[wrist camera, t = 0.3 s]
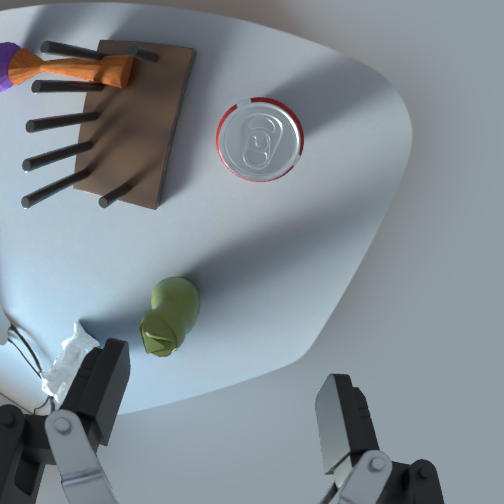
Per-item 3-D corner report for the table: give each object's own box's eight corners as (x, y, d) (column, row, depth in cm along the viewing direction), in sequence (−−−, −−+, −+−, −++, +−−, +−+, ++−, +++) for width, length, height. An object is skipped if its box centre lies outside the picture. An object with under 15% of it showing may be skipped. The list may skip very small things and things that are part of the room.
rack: (105, 41, 24) (38, 23, 13) (196, 51, 24) (156, 21, 14) (78, 185, 30) (13, 221, 20) (159, 206, 31) (112, 254, 21)
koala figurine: (65, 310, 38) (21, 367, 27) (106, 328, 39) (68, 391, 28) (67, 350, 42) (33, 404, 31) (104, 366, 42) (74, 425, 31)
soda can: (296, 108, 26) (315, 106, 16) (284, 162, 29) (295, 195, 18) (239, 98, 26) (220, 89, 15) (229, 152, 28) (205, 178, 18)
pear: (204, 310, 36) (187, 372, 27) (161, 307, 36) (134, 365, 27) (202, 269, 34) (181, 327, 25) (156, 266, 34) (122, 320, 25)
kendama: (109, 108, 23) (-32, 98, 20) (133, 96, 28) (0, 85, 25) (121, 42, 19) (-29, 48, 16) (145, 41, 24) (4, 41, 21)
